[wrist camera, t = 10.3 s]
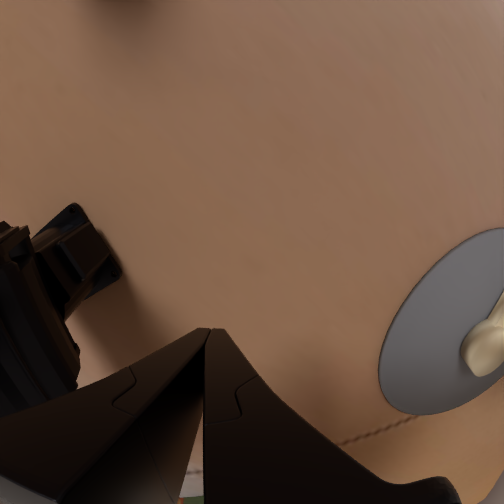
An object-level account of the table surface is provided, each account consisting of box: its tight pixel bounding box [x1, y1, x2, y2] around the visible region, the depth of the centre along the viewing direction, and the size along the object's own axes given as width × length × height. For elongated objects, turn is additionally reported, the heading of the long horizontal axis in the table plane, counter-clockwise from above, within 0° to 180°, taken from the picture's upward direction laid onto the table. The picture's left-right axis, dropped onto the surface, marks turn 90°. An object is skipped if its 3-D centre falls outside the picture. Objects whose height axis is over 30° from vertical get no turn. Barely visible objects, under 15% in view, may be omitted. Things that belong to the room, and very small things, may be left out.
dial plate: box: [378, 228, 504, 415], centre depth 24 cm, size 22×22×1 cm
